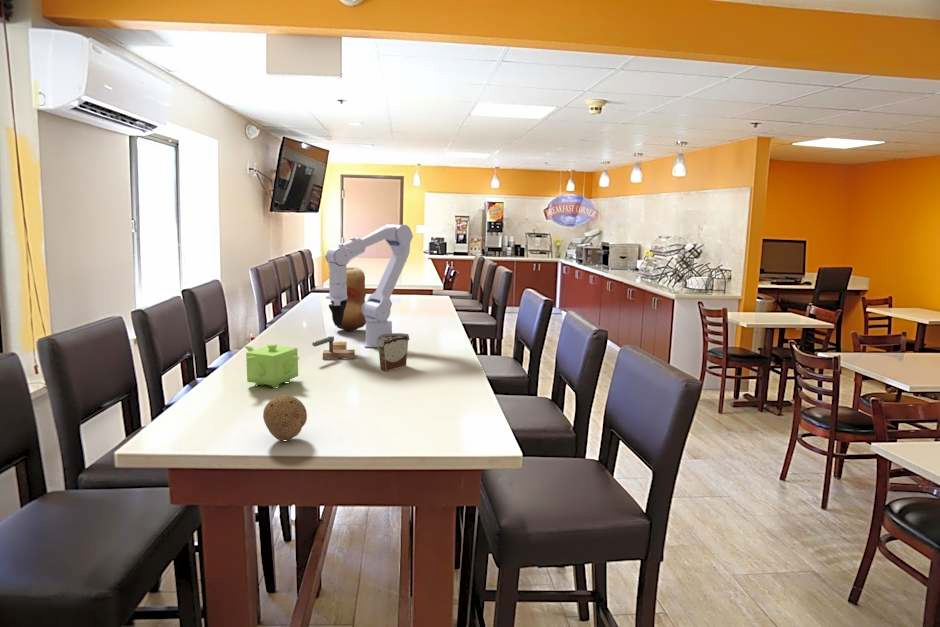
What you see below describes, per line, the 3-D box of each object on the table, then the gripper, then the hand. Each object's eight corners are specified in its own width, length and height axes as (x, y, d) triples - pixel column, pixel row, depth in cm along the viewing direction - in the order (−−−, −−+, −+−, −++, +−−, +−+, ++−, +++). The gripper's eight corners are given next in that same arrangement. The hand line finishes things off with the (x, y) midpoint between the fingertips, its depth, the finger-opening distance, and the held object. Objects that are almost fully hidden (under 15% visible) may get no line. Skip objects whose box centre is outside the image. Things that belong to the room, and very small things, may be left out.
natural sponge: (280, 430, 143) (279, 387, 141) (315, 435, 140) (314, 391, 139) (255, 444, 134) (254, 399, 133) (292, 450, 132) (291, 403, 130)
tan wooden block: (346, 350, 220) (346, 341, 219) (346, 353, 215) (346, 344, 214) (331, 350, 219) (331, 341, 218) (331, 353, 214) (330, 345, 213)
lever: (316, 347, 198) (315, 342, 198) (310, 346, 199) (310, 341, 199) (335, 341, 208) (335, 336, 207) (330, 340, 208) (330, 335, 208)
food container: (394, 361, 205) (394, 331, 203) (409, 364, 201) (409, 333, 200) (367, 369, 195) (367, 337, 193) (382, 372, 191) (382, 340, 190)
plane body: (355, 355, 212) (355, 339, 211) (354, 358, 207) (354, 342, 206) (323, 355, 210) (323, 339, 209) (322, 359, 205) (321, 343, 204)
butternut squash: (332, 335, 242) (331, 269, 237) (331, 328, 254) (330, 265, 250) (369, 334, 245) (369, 269, 240) (366, 327, 258) (366, 265, 253)
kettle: (248, 393, 168) (246, 352, 166) (241, 380, 181) (239, 341, 179) (305, 387, 175) (304, 347, 173) (295, 374, 187) (293, 337, 185)
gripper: (327, 280, 219) (328, 319, 221) (324, 286, 205) (324, 327, 207) (348, 280, 220) (348, 319, 222) (346, 286, 206) (346, 327, 208)
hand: (338, 323), depth 215 cm, fingers open, 7 cm apart
